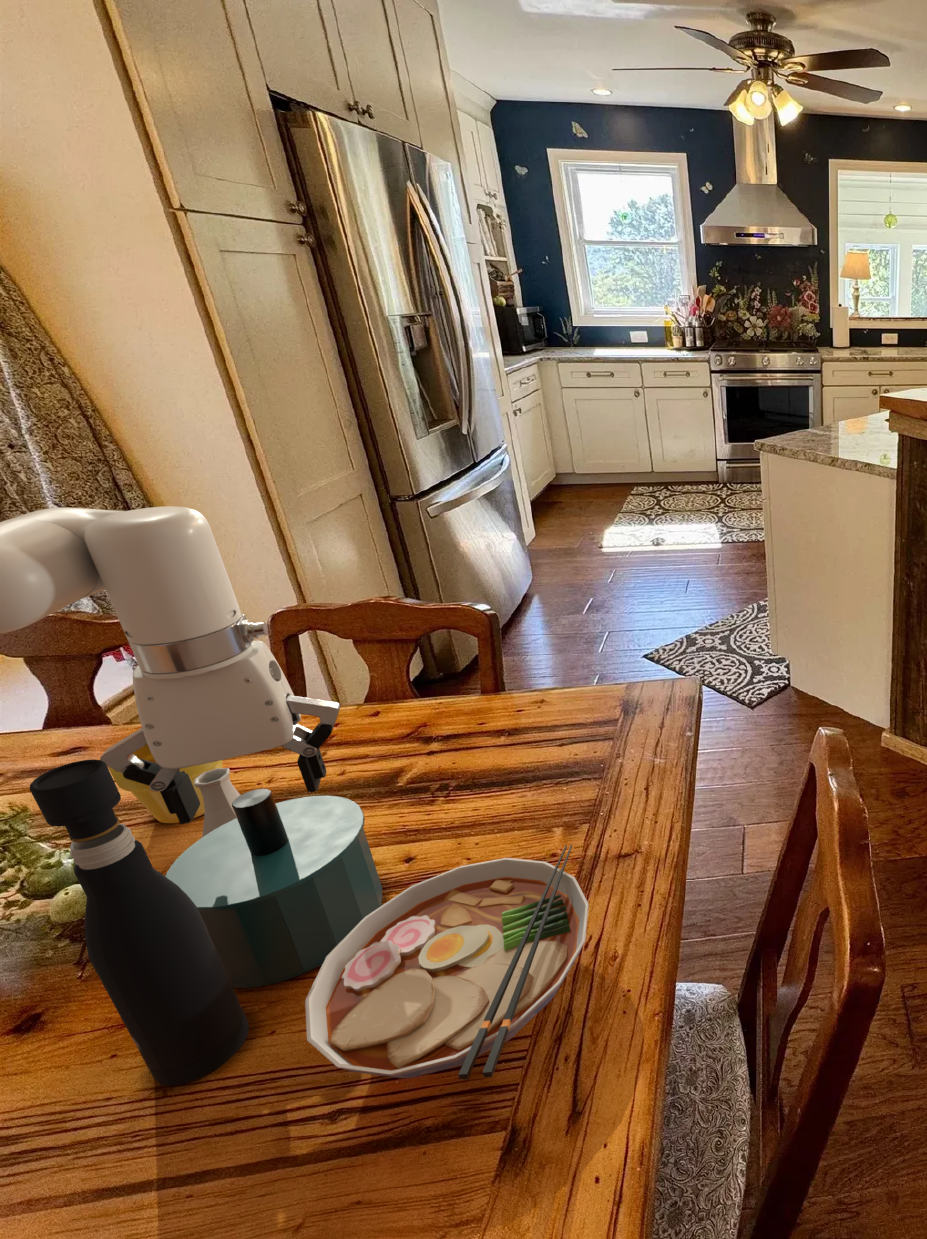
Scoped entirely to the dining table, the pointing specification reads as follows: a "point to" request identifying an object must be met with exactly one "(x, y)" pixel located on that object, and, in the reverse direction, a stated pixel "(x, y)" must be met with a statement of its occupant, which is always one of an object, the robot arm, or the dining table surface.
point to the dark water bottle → (143, 933)
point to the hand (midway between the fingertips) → (255, 799)
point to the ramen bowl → (448, 969)
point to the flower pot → (155, 799)
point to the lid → (266, 849)
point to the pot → (296, 922)
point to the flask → (216, 798)
